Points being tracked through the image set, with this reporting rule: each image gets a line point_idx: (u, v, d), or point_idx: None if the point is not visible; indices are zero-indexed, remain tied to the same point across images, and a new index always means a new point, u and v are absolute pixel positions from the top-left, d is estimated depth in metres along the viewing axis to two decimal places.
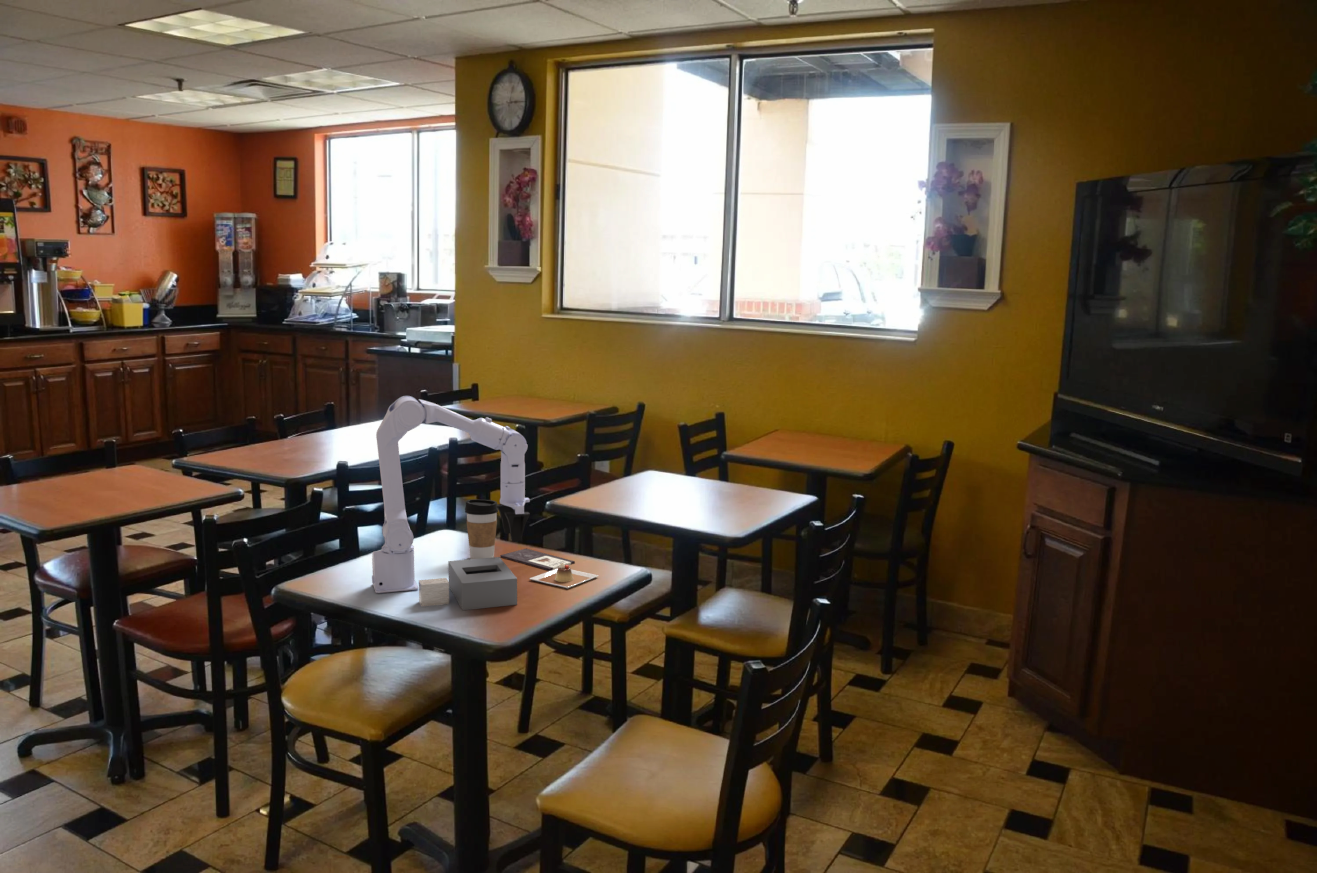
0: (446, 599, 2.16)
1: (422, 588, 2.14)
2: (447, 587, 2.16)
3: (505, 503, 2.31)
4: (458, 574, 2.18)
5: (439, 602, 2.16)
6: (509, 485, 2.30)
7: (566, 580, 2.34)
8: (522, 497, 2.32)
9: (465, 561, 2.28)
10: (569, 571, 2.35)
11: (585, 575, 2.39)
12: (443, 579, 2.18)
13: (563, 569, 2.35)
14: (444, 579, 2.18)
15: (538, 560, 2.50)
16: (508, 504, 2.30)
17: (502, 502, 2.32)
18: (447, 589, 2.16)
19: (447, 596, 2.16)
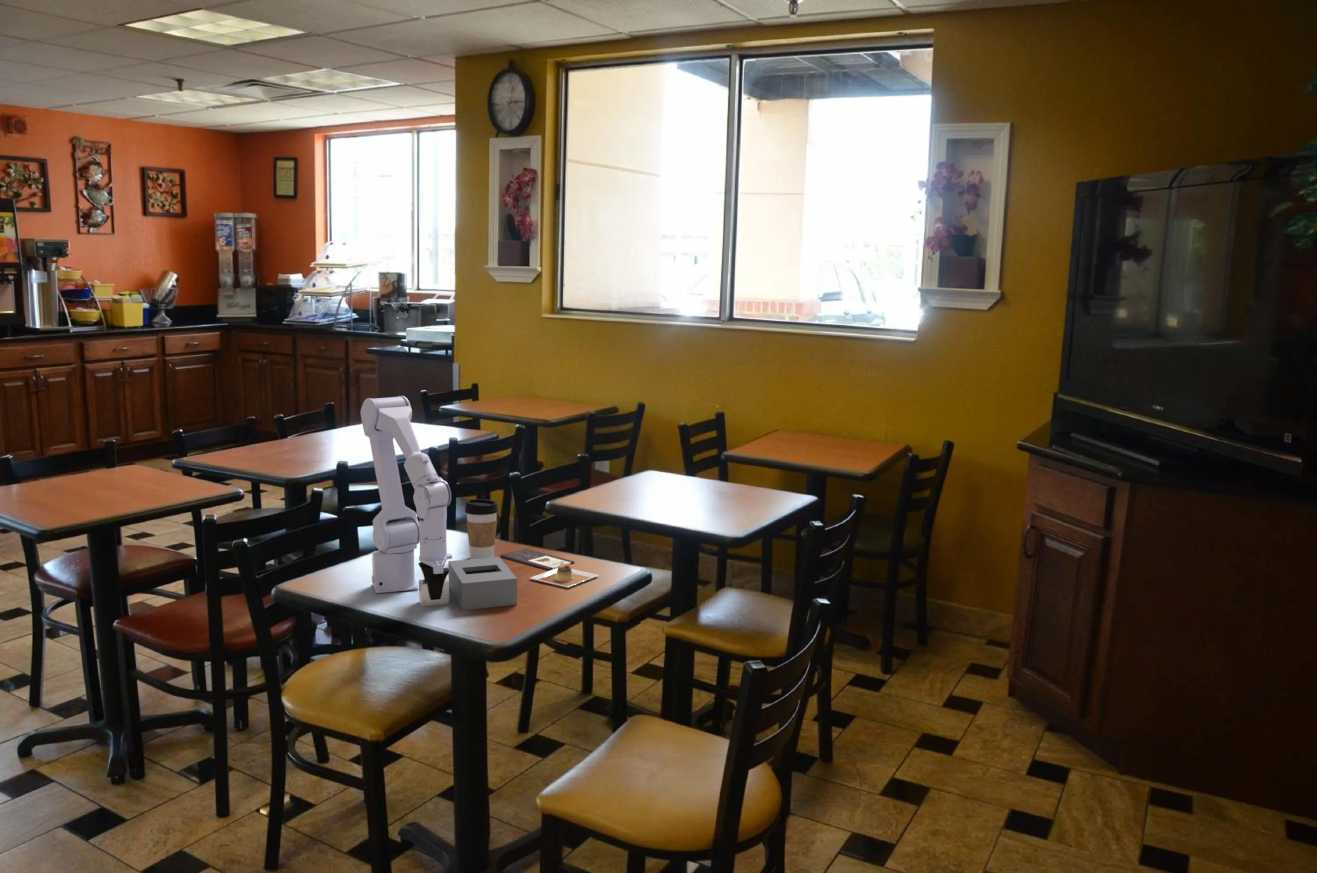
0: (446, 599, 2.16)
1: (422, 588, 2.14)
2: (447, 587, 2.16)
3: (424, 561, 2.12)
4: (458, 574, 2.18)
5: (439, 602, 2.16)
6: (428, 541, 2.12)
7: (566, 580, 2.34)
8: (443, 554, 2.14)
9: (465, 561, 2.28)
10: (569, 571, 2.35)
11: (585, 575, 2.39)
12: None
13: (563, 569, 2.35)
14: None
15: (537, 560, 2.50)
16: (427, 562, 2.11)
17: (421, 559, 2.13)
18: (447, 589, 2.16)
19: (447, 596, 2.16)
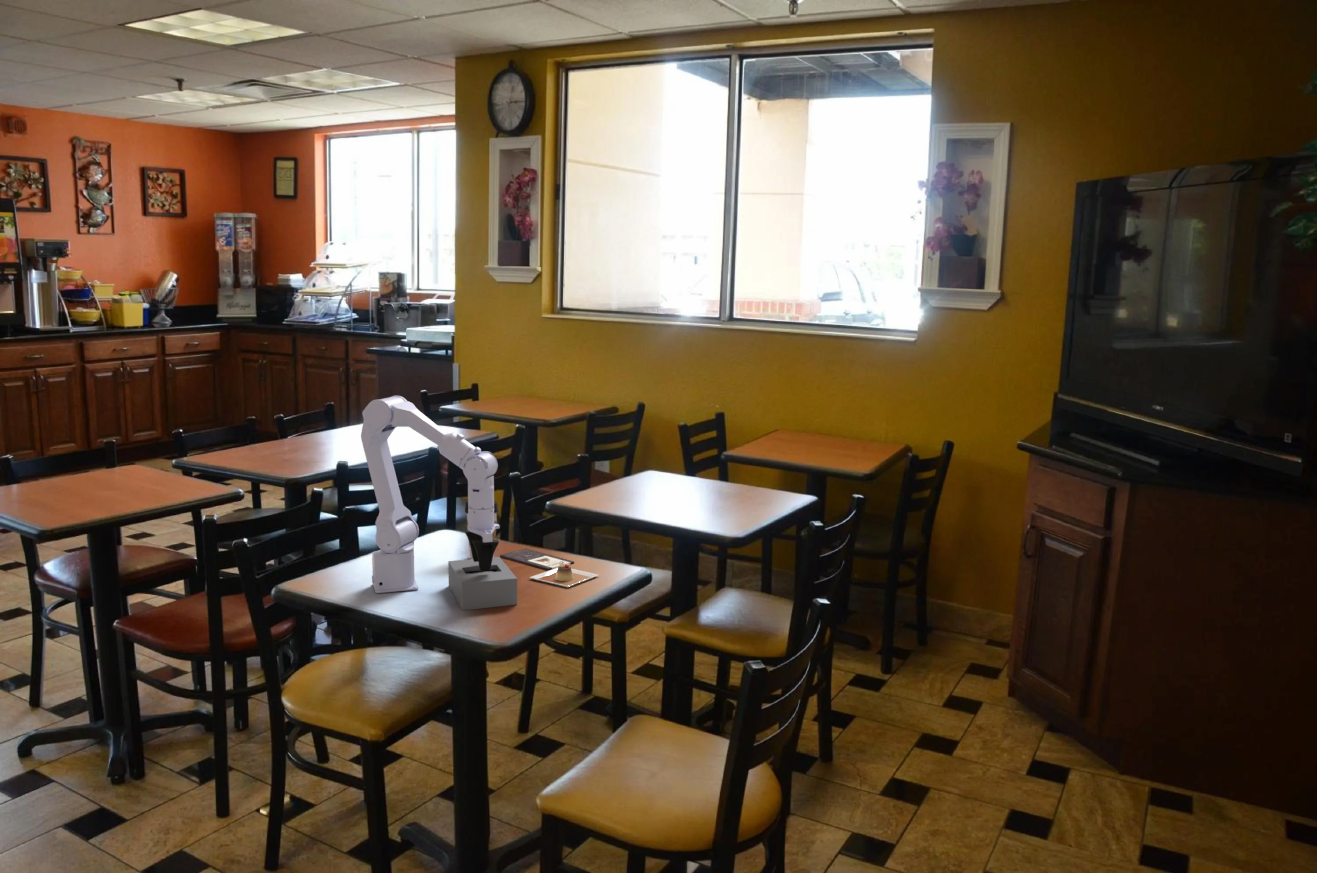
0: None
1: None
2: None
3: (473, 530, 2.17)
4: (458, 574, 2.18)
5: None
6: (477, 511, 2.17)
7: (566, 579, 2.35)
8: (491, 524, 2.19)
9: (465, 561, 2.28)
10: (569, 570, 2.36)
11: (585, 574, 2.39)
12: None
13: (563, 568, 2.35)
14: None
15: (537, 560, 2.50)
16: (476, 531, 2.16)
17: (470, 529, 2.18)
18: None
19: None
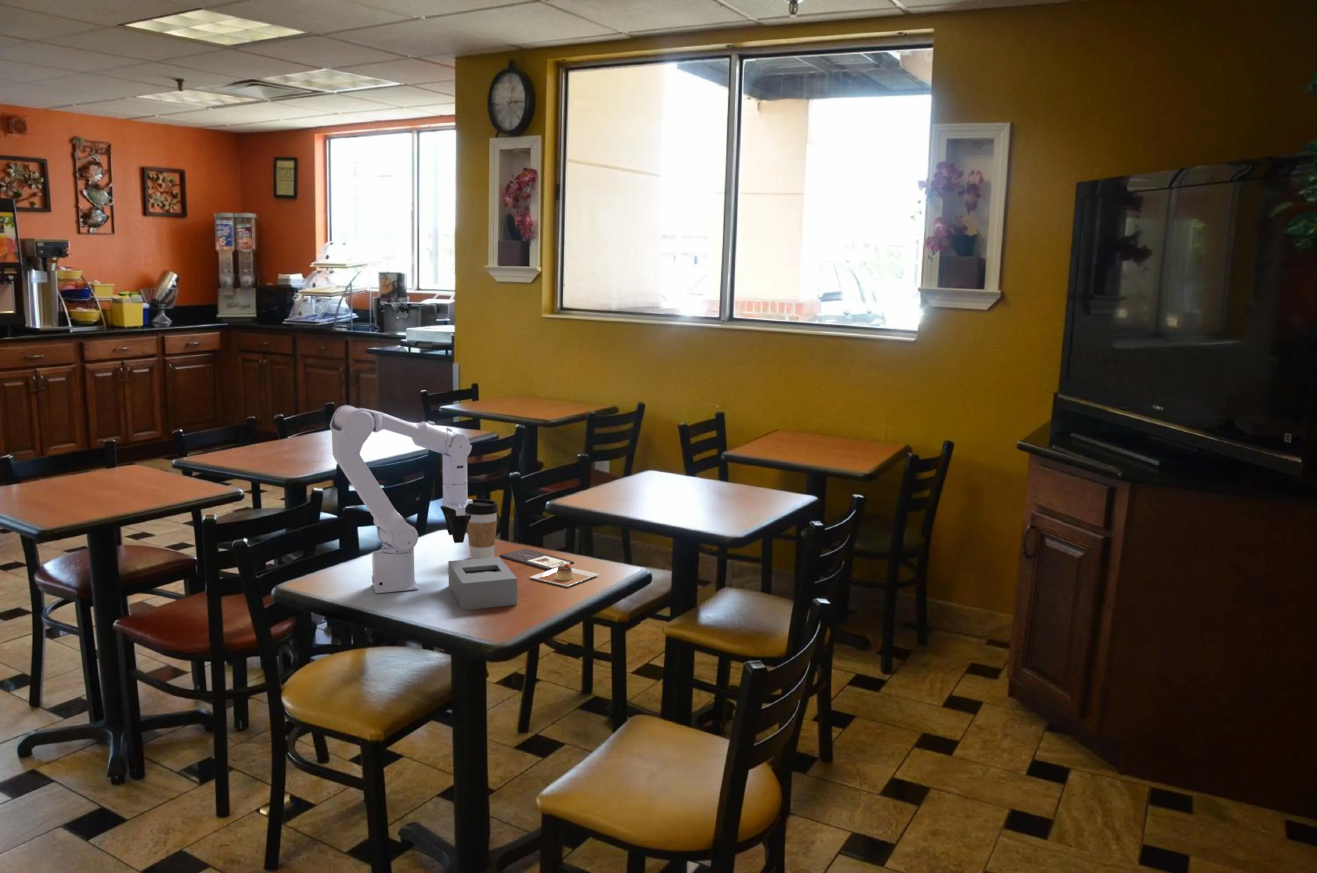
0: None
1: None
2: None
3: (447, 505, 2.30)
4: (458, 574, 2.18)
5: None
6: (451, 487, 2.30)
7: (566, 579, 2.35)
8: (464, 499, 2.32)
9: (465, 561, 2.28)
10: (569, 570, 2.36)
11: (585, 574, 2.40)
12: None
13: (563, 568, 2.36)
14: None
15: (537, 560, 2.50)
16: (450, 506, 2.30)
17: (444, 504, 2.31)
18: None
19: None
